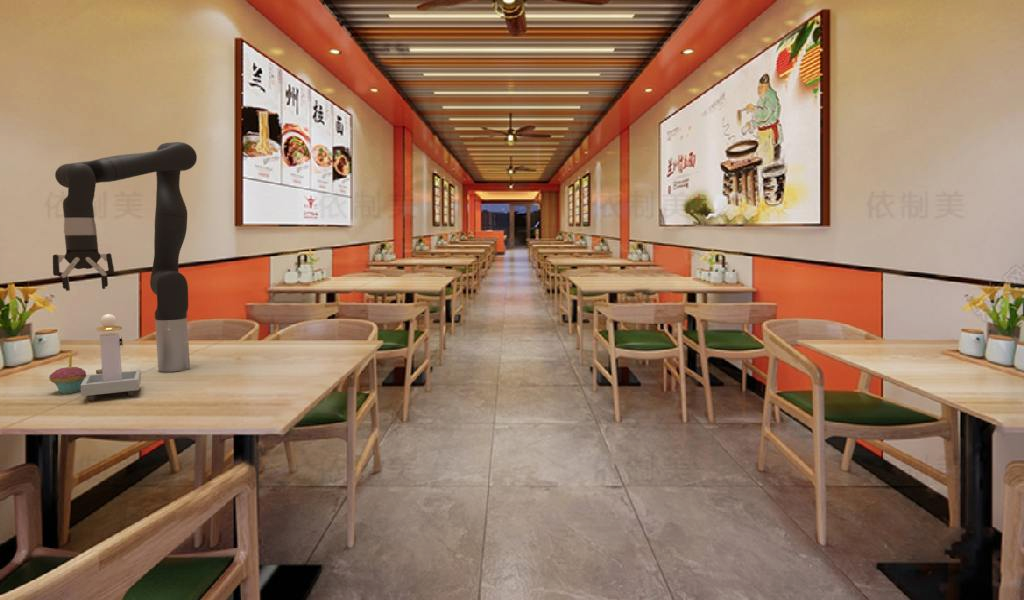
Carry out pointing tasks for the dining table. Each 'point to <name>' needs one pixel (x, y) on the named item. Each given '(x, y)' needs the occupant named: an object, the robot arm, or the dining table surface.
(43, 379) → the dining table surface
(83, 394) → the cart
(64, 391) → the cupcake
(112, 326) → the perfume bottle
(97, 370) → the walnut block
